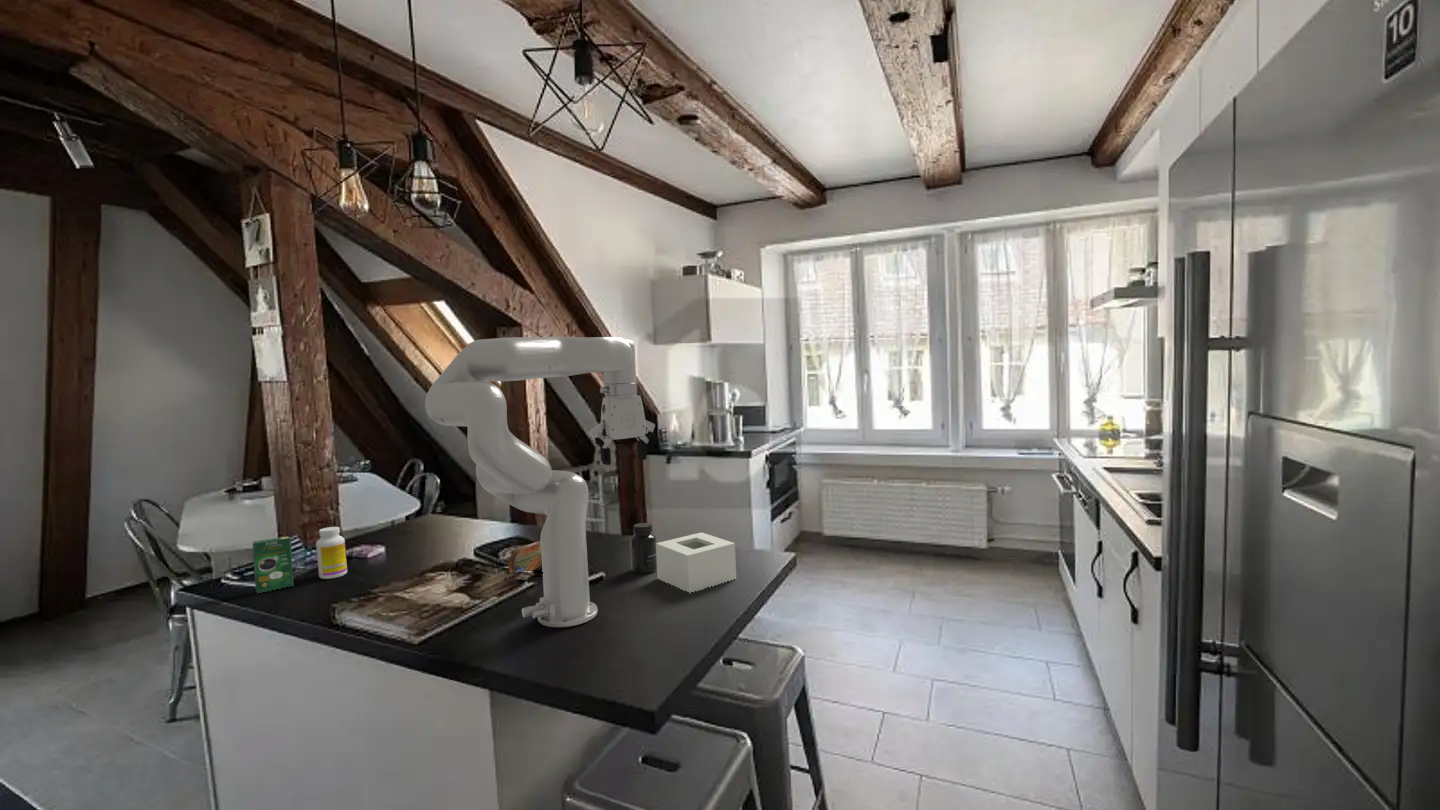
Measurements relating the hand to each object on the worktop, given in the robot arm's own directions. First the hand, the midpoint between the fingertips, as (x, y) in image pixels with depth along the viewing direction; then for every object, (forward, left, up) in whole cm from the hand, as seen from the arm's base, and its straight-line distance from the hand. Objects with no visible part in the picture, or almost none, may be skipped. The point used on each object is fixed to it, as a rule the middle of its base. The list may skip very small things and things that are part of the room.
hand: (624, 461), depth 156 cm
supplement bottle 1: (-56, +63, -31) cm, 90 cm away
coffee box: (-69, +61, -31) cm, 97 cm away
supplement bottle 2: (+8, +7, -31) cm, 32 cm away
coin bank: (+14, -8, -30) cm, 34 cm away
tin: (-15, +24, -31) cm, 42 cm away
